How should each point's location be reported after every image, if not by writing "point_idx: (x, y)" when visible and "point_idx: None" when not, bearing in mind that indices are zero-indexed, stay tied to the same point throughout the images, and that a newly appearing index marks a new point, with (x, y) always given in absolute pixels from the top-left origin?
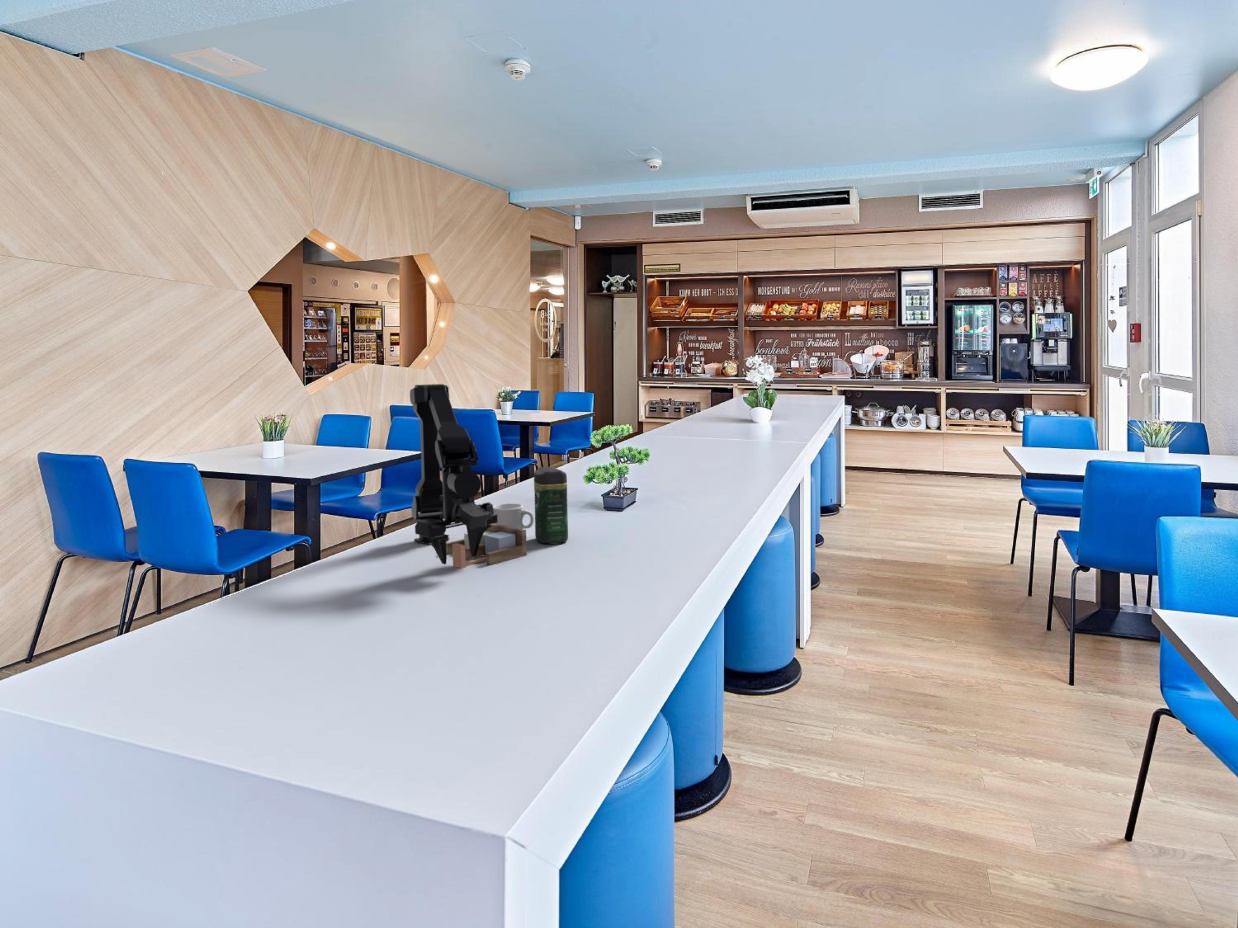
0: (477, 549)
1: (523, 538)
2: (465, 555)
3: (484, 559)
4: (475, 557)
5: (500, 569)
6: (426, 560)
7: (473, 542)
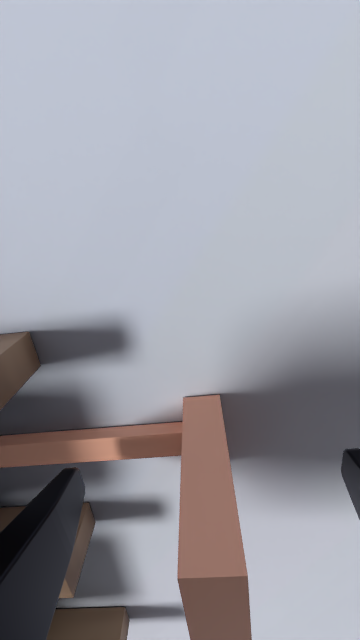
0: (26, 509)
1: None
2: (87, 539)
3: (12, 439)
4: None
5: (3, 157)
6: (252, 597)
7: (19, 607)
